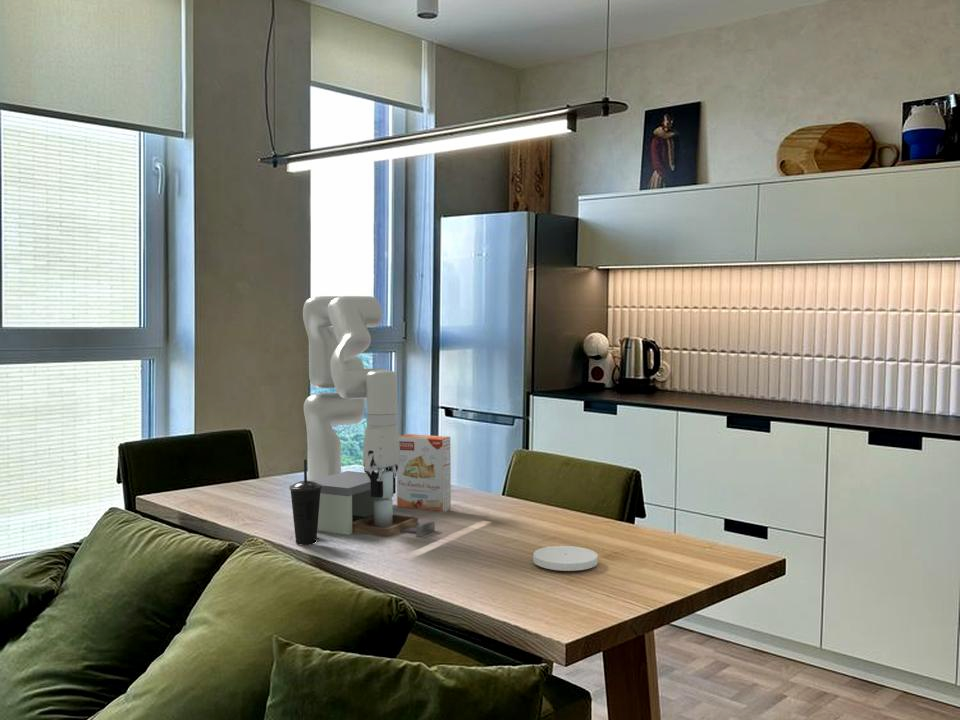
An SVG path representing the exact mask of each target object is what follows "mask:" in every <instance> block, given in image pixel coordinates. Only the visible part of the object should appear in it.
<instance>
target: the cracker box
mask: <svg viewBox="0 0 960 720" xmlns="http://www.w3.org/2000/svg"><path fill="white" fill-rule="evenodd" d="M399 442H400V460H401V463H400V465H399V467H398V470H397V472H396V473H397V476H396V494H397V495H396V497H397V498H396V500H397V501H396V505H397V507H399V508H406V509H407V508H408V509H419V510H430V511H440V512H447V513H448V512H450V511H451V507H452V505H451V503H452V502H451V501H452V500H451V498H452V494H451V492H452V491H451V489H452V488H451V485H452V484H451V478H452V477H451V475H452V473H451V469H452V468H451V467H452V466H451V464H452V463H451V460H452V459H451V437H450V436H446V435H445V436H442V435H428V434H414V433H405V434H399Z"/></svg>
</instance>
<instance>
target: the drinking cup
mask: <svg viewBox="0 0 960 720" xmlns="http://www.w3.org/2000/svg"><path fill="white" fill-rule="evenodd" d="M321 488H322V485H321V484H318V483H316V482H313V481H308V458H307V459H303V480H300V481H297V482H295V483H293V484H291V485H290V486H289V488H288V489H289V490H290V498H291V507H292V508H291V509H292V517H293V527H294V538H295V544H296V543H297V544H296V545H298V544H302V545H301V546H309V544H311V545H314V544H313V543H315V542H316V543H317V538H318V530H317V529H318V516H319V504H320V491H321ZM316 543H315V544H316Z"/></svg>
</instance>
